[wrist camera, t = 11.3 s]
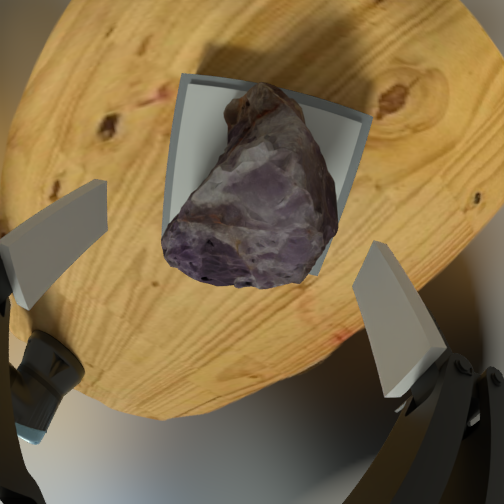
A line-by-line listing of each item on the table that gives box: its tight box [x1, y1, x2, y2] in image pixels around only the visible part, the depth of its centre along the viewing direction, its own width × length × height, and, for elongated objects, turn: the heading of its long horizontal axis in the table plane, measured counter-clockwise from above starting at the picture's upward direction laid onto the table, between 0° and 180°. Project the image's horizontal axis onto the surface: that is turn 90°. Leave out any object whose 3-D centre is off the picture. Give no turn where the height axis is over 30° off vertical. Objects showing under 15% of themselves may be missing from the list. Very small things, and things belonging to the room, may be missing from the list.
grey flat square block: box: [162, 73, 373, 276], centre depth 21 cm, size 14×14×3 cm
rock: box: [161, 82, 338, 289], centre depth 16 cm, size 12×9×10 cm
